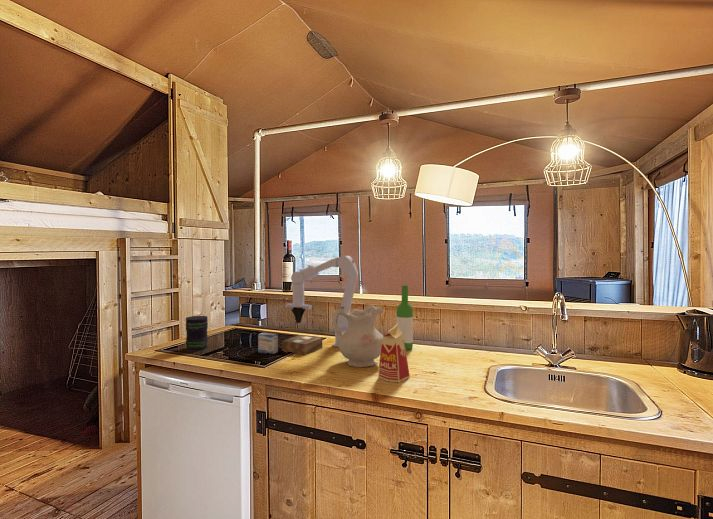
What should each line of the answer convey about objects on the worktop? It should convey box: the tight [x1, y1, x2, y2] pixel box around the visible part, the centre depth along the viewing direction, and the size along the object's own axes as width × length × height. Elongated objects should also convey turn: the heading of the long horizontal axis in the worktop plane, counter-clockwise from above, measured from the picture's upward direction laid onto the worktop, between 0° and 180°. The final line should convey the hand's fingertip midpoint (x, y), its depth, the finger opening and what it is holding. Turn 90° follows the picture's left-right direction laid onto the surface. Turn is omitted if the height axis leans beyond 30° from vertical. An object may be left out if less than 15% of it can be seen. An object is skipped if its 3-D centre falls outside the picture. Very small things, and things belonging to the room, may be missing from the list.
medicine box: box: [257, 332, 279, 355], centre depth 186 cm, size 8×4×9 cm, turn 73°
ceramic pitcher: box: [332, 304, 384, 369], centre depth 168 cm, size 22×20×25 cm
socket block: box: [281, 334, 323, 356], centre depth 190 cm, size 13×14×5 cm
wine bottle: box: [396, 285, 414, 351], centre depth 192 cm, size 8×8×30 cm
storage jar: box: [185, 315, 209, 352], centre depth 192 cm, size 10×10×15 cm
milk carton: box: [377, 323, 411, 384], centre depth 150 cm, size 9×9×20 cm
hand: (298, 322), depth 202 cm, fingers closed
